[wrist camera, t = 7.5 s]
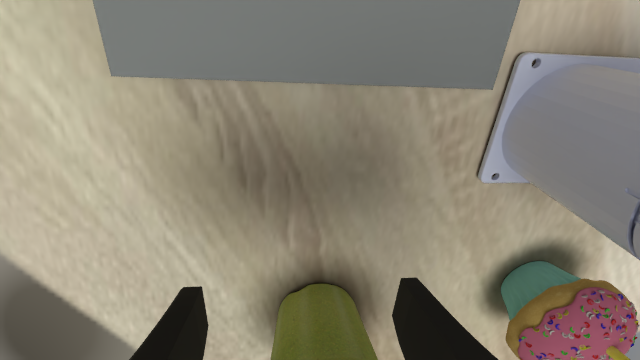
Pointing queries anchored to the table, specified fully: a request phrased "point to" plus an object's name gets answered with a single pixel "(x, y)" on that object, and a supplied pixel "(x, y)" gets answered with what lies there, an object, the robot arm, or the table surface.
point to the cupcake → (566, 316)
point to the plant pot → (320, 327)
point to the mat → (310, 40)
